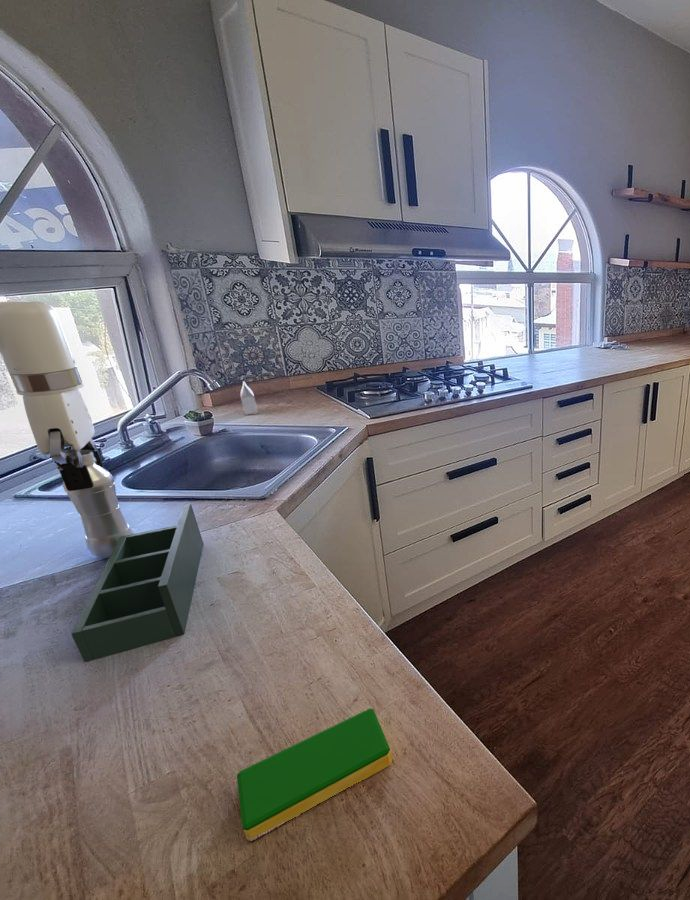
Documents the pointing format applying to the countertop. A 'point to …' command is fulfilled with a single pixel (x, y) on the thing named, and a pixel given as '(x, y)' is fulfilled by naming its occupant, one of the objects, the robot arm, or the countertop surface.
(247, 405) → the white gabled block
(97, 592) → the box
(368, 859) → the countertop surface
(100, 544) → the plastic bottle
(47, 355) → the robot arm
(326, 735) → the dish sponge
